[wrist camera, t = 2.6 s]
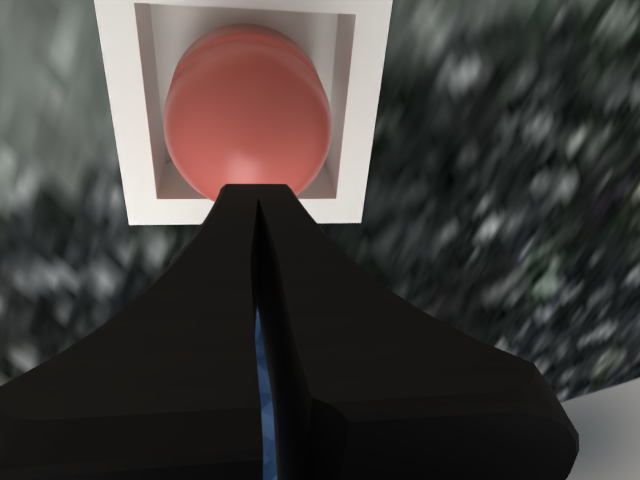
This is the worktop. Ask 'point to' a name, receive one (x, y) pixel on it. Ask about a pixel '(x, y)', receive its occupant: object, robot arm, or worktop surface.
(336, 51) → the dome base
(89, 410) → the robot arm
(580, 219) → the worktop surface
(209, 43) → the dome button
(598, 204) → the worktop surface
